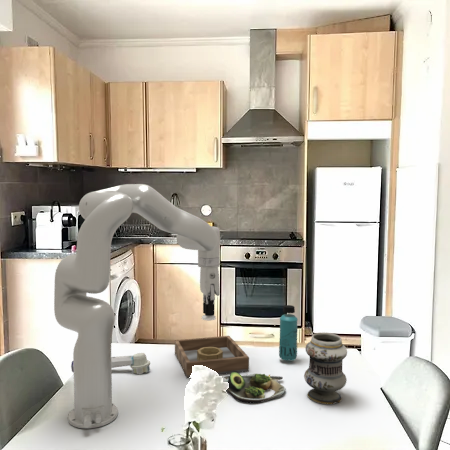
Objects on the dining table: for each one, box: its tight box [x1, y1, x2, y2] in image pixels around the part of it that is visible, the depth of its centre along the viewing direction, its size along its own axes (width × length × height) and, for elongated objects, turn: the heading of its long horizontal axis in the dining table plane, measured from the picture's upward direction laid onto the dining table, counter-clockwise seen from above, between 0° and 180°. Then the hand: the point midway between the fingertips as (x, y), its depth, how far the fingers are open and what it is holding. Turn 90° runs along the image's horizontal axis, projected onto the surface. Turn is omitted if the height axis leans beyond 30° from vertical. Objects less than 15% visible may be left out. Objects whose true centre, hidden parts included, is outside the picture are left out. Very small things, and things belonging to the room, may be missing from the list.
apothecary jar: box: [303, 332, 348, 405], centre depth 127 cm, size 12×12×18 cm
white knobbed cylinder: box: [70, 352, 151, 375], centre depth 144 cm, size 5×7×25 cm
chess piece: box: [201, 294, 217, 322], centre depth 151 cm, size 5×5×10 cm
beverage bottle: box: [278, 304, 299, 361], centre depth 154 cm, size 6×7×20 cm
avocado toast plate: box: [223, 372, 286, 404], centre depth 133 cm, size 19×18×5 cm
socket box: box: [174, 335, 250, 379], centre depth 153 cm, size 23×21×5 cm
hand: (208, 313), depth 152 cm, fingers closed on chess piece
